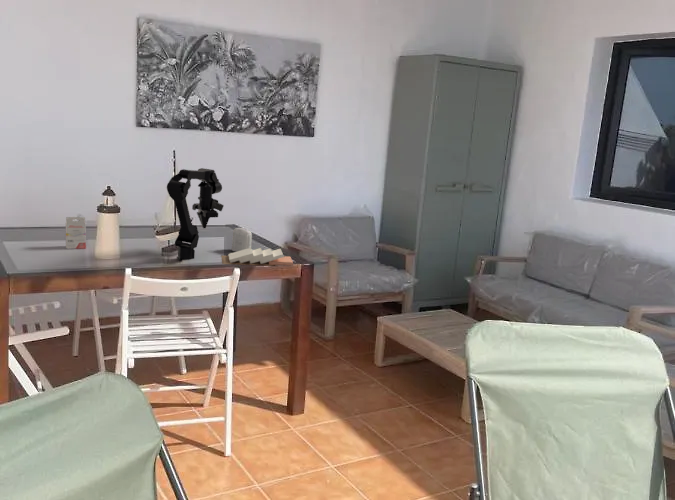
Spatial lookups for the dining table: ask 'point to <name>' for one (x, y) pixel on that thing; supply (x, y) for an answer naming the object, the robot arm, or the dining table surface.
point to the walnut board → (226, 261)
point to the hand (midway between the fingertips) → (204, 228)
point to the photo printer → (241, 239)
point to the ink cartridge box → (75, 233)
